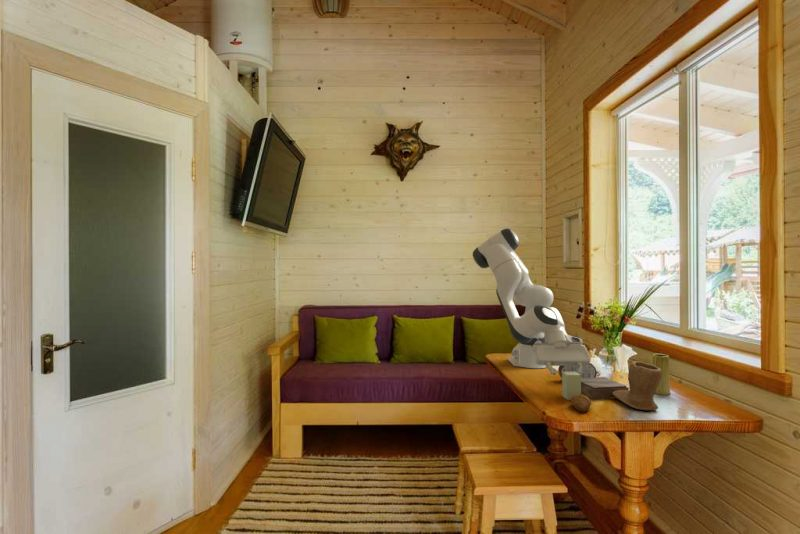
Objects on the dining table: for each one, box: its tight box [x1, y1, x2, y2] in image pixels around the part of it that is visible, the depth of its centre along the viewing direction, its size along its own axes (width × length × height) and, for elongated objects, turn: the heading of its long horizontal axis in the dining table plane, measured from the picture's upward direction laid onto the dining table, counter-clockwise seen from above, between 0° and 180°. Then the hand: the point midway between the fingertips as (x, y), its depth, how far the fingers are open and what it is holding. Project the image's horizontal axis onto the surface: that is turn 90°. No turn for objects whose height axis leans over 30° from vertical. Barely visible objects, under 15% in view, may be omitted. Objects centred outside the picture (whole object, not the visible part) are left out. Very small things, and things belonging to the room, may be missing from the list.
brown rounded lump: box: [569, 393, 592, 414], centre depth 147 cm, size 14×7×5 cm, turn 160°
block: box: [561, 372, 582, 401], centre depth 158 cm, size 5×5×9 cm
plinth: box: [581, 376, 629, 400], centre depth 164 cm, size 14×14×4 cm
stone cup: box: [612, 360, 662, 411], centre depth 149 cm, size 15×12×15 cm
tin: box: [557, 362, 598, 379], centre depth 180 cm, size 15×3×8 cm, turn 84°
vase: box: [652, 353, 671, 396], centre depth 164 cm, size 6×6×14 cm
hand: (566, 374), depth 160 cm, fingers open, 8 cm apart
